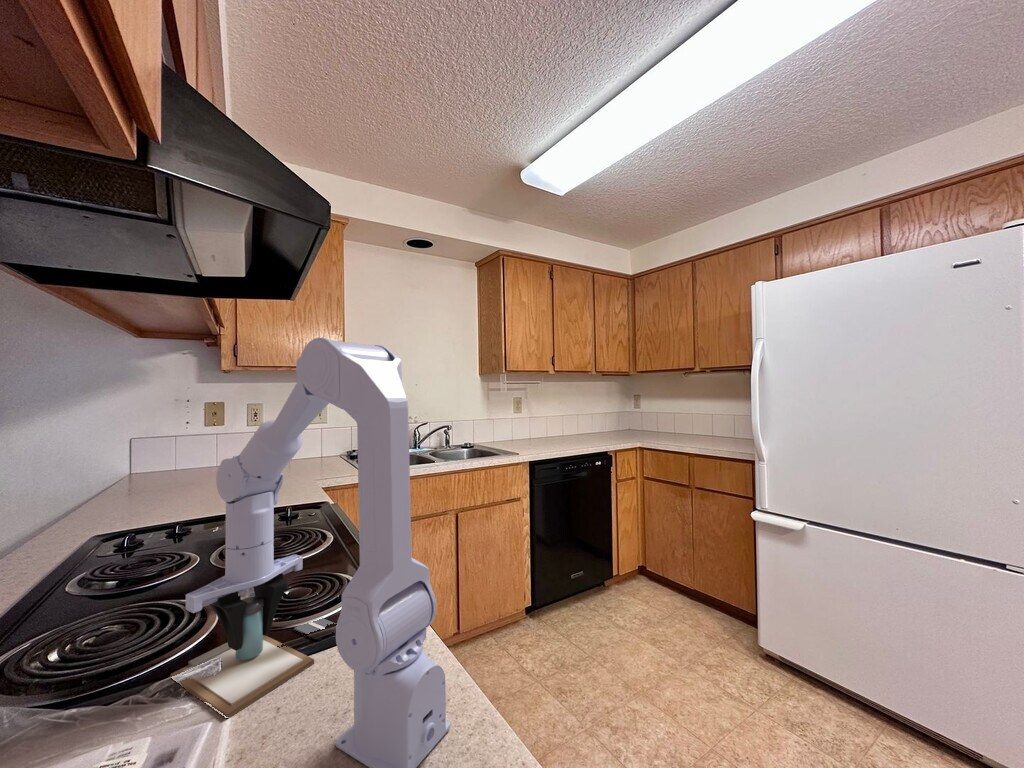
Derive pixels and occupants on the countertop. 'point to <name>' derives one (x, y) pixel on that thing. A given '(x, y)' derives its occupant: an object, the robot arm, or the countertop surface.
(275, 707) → the countertop surface
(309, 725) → the countertop surface
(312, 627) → the plate
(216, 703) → the clipboard
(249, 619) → the tumbler
